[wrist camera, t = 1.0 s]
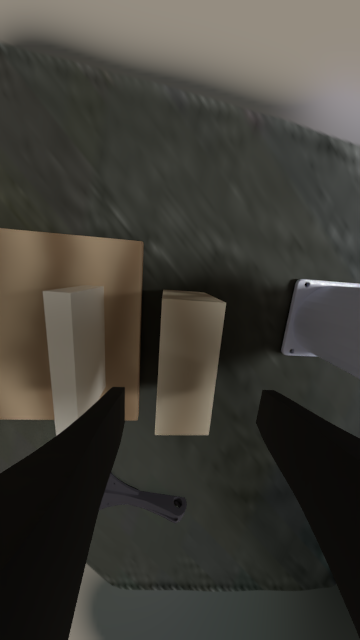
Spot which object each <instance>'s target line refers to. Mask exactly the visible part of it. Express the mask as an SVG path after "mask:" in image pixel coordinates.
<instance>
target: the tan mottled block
mask: <svg viewBox="0 0 360 640" xmlns="http://www.w3.org/2000/svg"><path fill="white" fill-rule="evenodd" d="M225 309H226V303H225V302H223V301H221V300H219V299H217V298H215V297H213V296H211V295H209V294H206V293H204V292H191V291H177V290H163V296H162V311H161V330H160V348H159V367H158V385H157V404H156V423H155V435H209V428H210V420H211V413H212V405H213V398H214V391H215V383H216V376H217V368H218V361H219V353H220V346H221V338H222V331H223V323H224V316H225Z"/></svg>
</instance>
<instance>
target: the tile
mask: <svg viewBox="0 0 360 640" xmlns="http://www.w3.org/2000/svg"><path fill="white" fill-rule="evenodd" d="M43 301H44V311H45V322H46V332H47V343H48V354H49V364H50V375H51V386H52V396H53V407H54V418H55V428H56V436H57V435H58V434H60V433H61V432H62V431H63V430H65V429H66V428H67V427H68V426H70V425H71V424H72V423H73V422H74V421H76V420H77V419H78V418H79V417H80V416H81V415H83V414H84V413H85V412H86V411H87V410H88V409H89V408H90V407H91V406H93V405H94V404H95V403H96V402H97V401H98V400H99V398H100V396H101V394H102V392H103V391H104V389H105V387H106V382H105V329H104V286H93V285H83V286H75V287H68V288H61V289H54V290H46V291H43Z"/></svg>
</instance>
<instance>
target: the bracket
mask: <svg viewBox="0 0 360 640" xmlns="http://www.w3.org/2000/svg"><path fill="white" fill-rule="evenodd" d="M174 500H178V501H179V502H180V504H179V502H177V501H174ZM122 504H129V505H133V506H136V507H140V508H144V509H146V510H148V511H151V512H153V513H155V514H157V515H160V516H162V517H164V518H166V519H168V520H169V521H171V522H173V523H177V522H179V521H180V520H181V519H182V517H183V515H184V512H185V510H186V506H187V504H186V499H185V498H184V497H177V496H170V495H164V494H157V493H150V492H144V491H139V490H137V489H135V488H133V487H130V486H128V485H126V484H125V483H123V482H122V481H120V480H119V479H117V478H116V477H115V476H114V475H113V474H112V473H110V476H109V480H108V483H107V486H106V489H105V492H104V495H103V498H102V501H101V505H100V508H99V510H101V509H103V508H106V507H110V506H115V505H122ZM174 504H176V505H178V507H179V508H177V507H176V506H175V505H174Z"/></svg>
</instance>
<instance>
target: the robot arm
mask: <svg viewBox="0 0 360 640" xmlns="http://www.w3.org/2000/svg"><path fill="white" fill-rule="evenodd" d="M305 283H307V286H306V287H305ZM291 349H292V351H291V352H290V350H291ZM281 352H282V353H283V354H284V355H294V356H318V357H320V358H322V359H324V360H325V361H327V362H329V363H331V364H333V365H335V366H336V367H338V368H340V369H342V370H344V371H346V372H348V373H349V374H351V375H353V376H355V377H357V378H359V379H360V284H358V283H345V282H333V281H321V280H308V279H299V280H297V281H296V283H295V288H294V292H293V297H292V302H291V306H290V311H289V316H288V320H287V325H286V330H285V334H284V339H283V343H282V348H281ZM124 423H125V387H112V388H111V389H109V390H108V391H107V392H106V393H105V394H104V395H103V396H102V397H101V398H100V399H99V400H98V401H97V402H96V403H95V404H94V405H93V406H91V407H90V408H89V409H88V410H87V411H86V412H85V413H84V414H83V415H81V416H80V417H79V418H78V419H77V420H76V421H74V422H73V423H72V424H71V425H70V426H68V427H67V428H66V429H65V430H63V431H62V432H61V433H60V434H58V435H57V436H56V437H54V438H53V439H52V440H50V441H49V442H47V443H46V444H45V445H43V446H42V447H40V448H39V449H38V450H36V451H35V452H33V453H32V454H30V455H29V456H27V457H25V458H24V459H22V460H21V461H19V462H18V463H16V464H14V465H13V466H11V467H10V468H8V469H7V470H5V471H3V472H2V473H0V640H68V638H69V633H70V629H71V624H72V620H73V616H74V611H75V607H76V603H77V598H78V594H79V590H80V585H81V581H82V577H83V573H84V568H85V564H86V560H87V556H88V552H89V547H90V543H91V539H92V535H93V531H94V527H95V523H96V519H97V515H98V512H99V508H100V505H101V501H102V498H103V495H104V492H105V489H106V486H107V483H108V480H109V476H110V473H111V470H112V467H113V464H114V461H115V458H116V455H117V452H118V449H119V445H120V442H121V437H122V433H123V428H124ZM256 424H257V426H258V428H259V431H260V433H261V436H262V438H263V440H264V442H265V444H266V446H267V448H268V450H269V451H270V453H271V455H272V457H273V458H274V460H275V462H276V464H277V465H278V467H279V469H280V470H281V472H282V474H283V476H284V477H285V479H286V481H287V483H288V484H289V486H290V488H291V489H292V491H293V493H294V495H295V497H296V498H297V500H298V502H299V504H300V506H301V508H302V510H303V512H304V514H305V516H306V518H307V520H308V522H309V524H310V526H311V529H312V531H313V533H314V535H315V537H316V539H317V541H318V543H319V546H320V548H321V550H322V552H323V554H324V557H325V559H326V561H327V563H328V565H329V568H330V570H331V572H332V574H333V576H334V579H335V581H336V583H337V586H338V588H339V590H340V593H341V595H342V597H343V599H344V602H345V604H346V607H347V609H348V611H349V614H350V616H351V618H352V621H353V623H354V625H355V628H356V630H357V633H358V635H359V638H360V438H358V437H356V436H354V435H352V434H350V433H348V432H346V431H344V430H342V429H341V428H339V427H337V426H335V425H333V424H331V423H330V422H328V421H326V420H324V419H323V418H321V417H319V416H317V415H316V414H314V413H312V412H311V411H309V410H307V409H306V408H304V407H302V406H301V405H299V404H297V403H296V402H294V401H292V400H291V399H289V398H287V397H285V396H284V395H282V394H280V393H278V392H276V391H274V390H263V391H262V396H261V400H260V405H259V410H258V415H257V420H256Z"/></svg>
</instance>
